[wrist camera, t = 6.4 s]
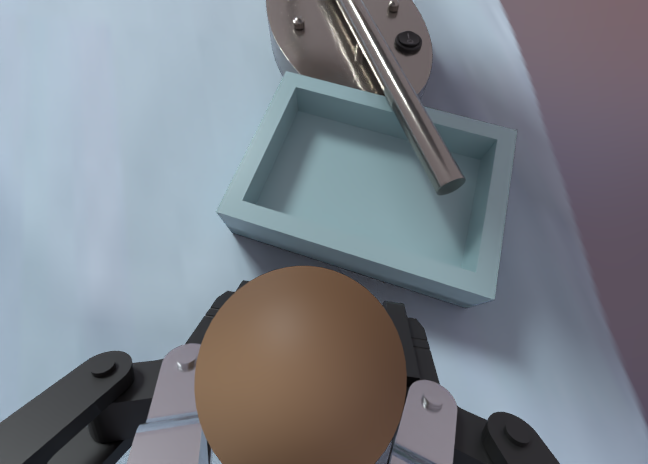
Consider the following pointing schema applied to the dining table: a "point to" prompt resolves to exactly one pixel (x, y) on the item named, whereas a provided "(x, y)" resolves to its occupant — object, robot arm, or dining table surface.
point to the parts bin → (373, 191)
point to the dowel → (300, 372)
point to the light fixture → (368, 63)
